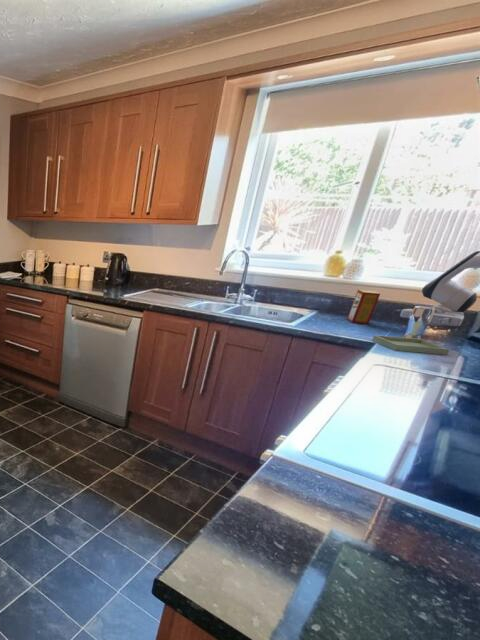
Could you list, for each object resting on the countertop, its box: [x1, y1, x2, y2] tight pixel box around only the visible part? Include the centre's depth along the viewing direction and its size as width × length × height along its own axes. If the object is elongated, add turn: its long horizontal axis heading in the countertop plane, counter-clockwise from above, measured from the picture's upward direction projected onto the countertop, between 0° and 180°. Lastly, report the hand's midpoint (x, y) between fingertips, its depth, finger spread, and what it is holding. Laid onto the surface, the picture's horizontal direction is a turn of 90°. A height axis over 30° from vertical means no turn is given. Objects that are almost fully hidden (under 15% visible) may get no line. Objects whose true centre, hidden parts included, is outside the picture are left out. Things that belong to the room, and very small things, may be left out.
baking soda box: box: [346, 289, 381, 325], centre depth 220 cm, size 10×6×16 cm
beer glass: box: [401, 305, 436, 339], centre depth 187 cm, size 7×7×15 cm
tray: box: [372, 334, 450, 356], centre depth 179 cm, size 18×16×2 cm
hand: (426, 318), depth 192 cm, fingers open, 8 cm apart
